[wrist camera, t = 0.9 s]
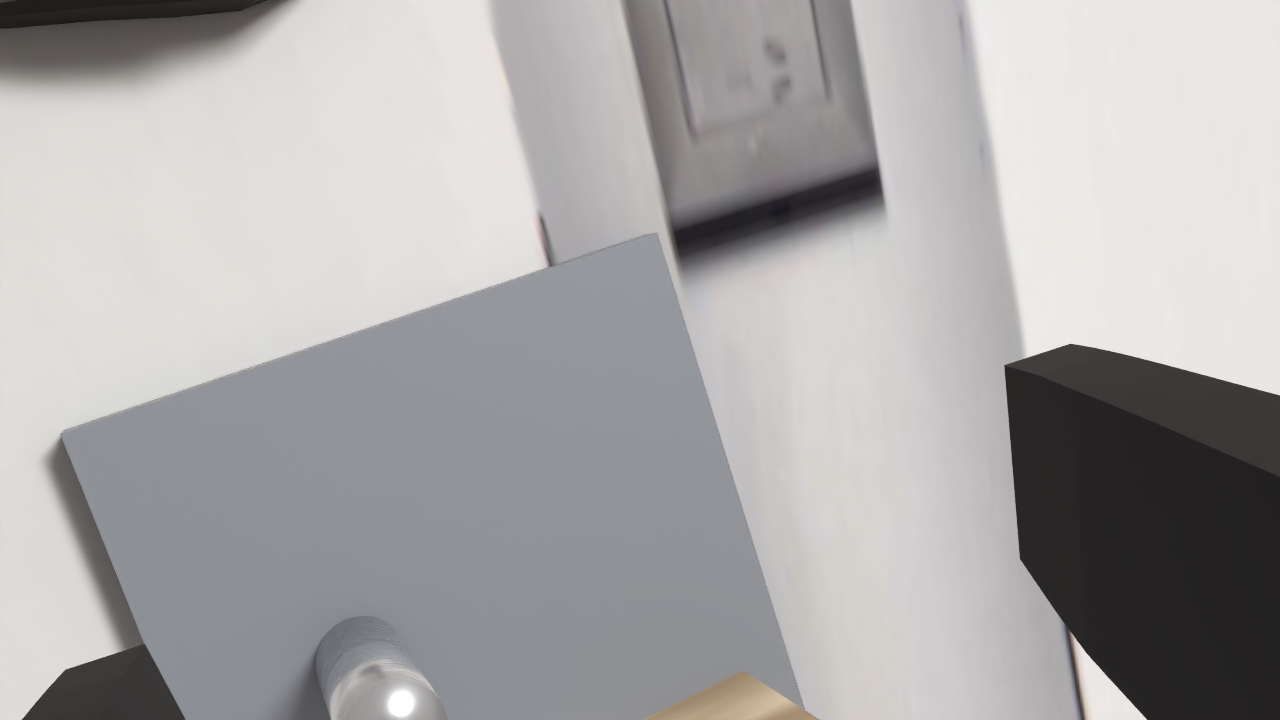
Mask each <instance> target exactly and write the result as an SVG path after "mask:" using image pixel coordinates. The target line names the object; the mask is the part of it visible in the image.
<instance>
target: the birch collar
mask: <svg viewBox="0 0 1280 720" xmlns="http://www.w3.org/2000/svg"><path fill="white" fill-rule="evenodd" d="M643 720H819V719H818V718H816V717H815V716H813V715H812V714H810V713H808V712H807V711H805V710H804V709H802V708H801V707H799V706H798V705H796V704H795V703H793V702H791V701H790V700H788V699H787V698H785V697H784V696H782V695H781V694H779V693H778V692H776V691H774V690H773V689H771V688H770V687H768V686H767V685H765V684H764V683H762V682H761V681H759V680H757V679H756V678H754V677H753V676H751V675H750V674H748V673H747V672H745V671H744V670H743V671H741V672H739V673H737V674H735V675H733V676H731V677H729V678H727V679H725V680H723V681H721V682H719V683H717V684H714V685H712V686H710V687H708V688H706V689H704V690H702V691H700V692H698V693H696V694H694V695H692V696H690V697H688V698H686V699H684V700H682V701H680V702H678V703H676V704H674V705H672V706H669V707H667V708H665V709H663V710H661V711H659V712H657V713H655V714H653V715H651V716H649V717H647V718H645V719H643Z"/></svg>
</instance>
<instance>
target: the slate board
mask: <svg viewBox="0 0 1280 720" xmlns="http://www.w3.org/2000/svg"><path fill="white" fill-rule="evenodd" d="M60 435H61V437H62V440H63V442H64V445H65V447H66V450H67V452H68V455H69V457H70V460H71V462H72V465H73V467H74V470H75V472H76V475H77V477H78V480H79V482H80V485H81V487H82V490H83V492H84V495H85V497H86V500H87V502H88V505H89V507H90V510H91V512H92V515H93V517H94V520H95V522H96V525H97V527H98V530H99V532H100V535H101V537H102V540H103V542H104V545H105V547H106V550H107V552H108V555H109V557H110V560H111V562H112V565H113V567H114V570H115V572H116V575H117V577H118V580H119V582H120V585H121V587H122V590H123V592H124V595H125V597H126V600H127V602H128V605H129V607H130V610H131V612H132V615H133V617H134V620H135V622H136V625H137V627H138V630H139V632H140V635H141V637H142V640H143V642H144V644H145V645H146V647H147V648H148V650H149V652H150V654H151V656H152V658H153V660H154V661H155V663H156V665H157V667H158V669H159V671H160V673H161V674H162V676H163V678H164V680H165V682H166V684H167V686H168V688H169V689H170V691H171V693H172V695H173V697H174V699H175V701H176V702H177V704H178V706H179V708H180V710H181V712H182V714H183V716H184V717H185V719H186V720H331V718H330V715H329V712H328V709H327V706H326V703H325V700H324V697H323V694H322V692H321V689H320V686H319V683H318V680H317V676H316V673H315V655H316V651H317V648H318V646H319V644H320V642H321V640H322V639H323V637H324V636H325V635H326V633H327V632H328V631H329V630H330V629H331V628H333V627H334V626H335V625H337V624H338V623H340V622H342V621H344V620H346V619H349V618H352V617H357V616H371V617H375V618H379V619H381V620H383V621H385V622H387V623H388V624H390V625H391V626H392V627H393V628H394V629H395V630H396V631H397V633H398V634H399V636H400V638H401V639H402V641H403V642H404V644H405V645H406V647H407V649H408V650H409V652H410V653H411V655H412V656H413V658H414V660H415V661H416V663H417V664H418V666H419V667H420V669H421V671H422V672H423V674H424V675H425V677H426V678H427V680H428V682H429V683H430V685H431V686H432V688H433V689H434V691H435V693H436V694H437V696H438V697H439V699H440V700H441V702H442V704H443V705H444V708H445V710H446V713H447V717H448V720H643V719H645V718H647V717H649V716H651V715H653V714H655V713H657V712H659V711H661V710H663V709H665V708H667V707H669V706H672V705H674V704H676V703H678V702H680V701H682V700H684V699H686V698H688V697H690V696H692V695H694V694H696V693H698V692H700V691H702V690H704V689H706V688H708V687H710V686H712V685H714V684H717V683H719V682H721V681H723V680H725V679H727V678H729V677H731V676H733V675H735V674H737V673H739V672H741V671H743V670H744V671H745V672H747V673H748V674H750V675H751V676H753V677H754V678H756V679H757V680H759V681H761V682H762V683H764V684H765V685H767V686H768V687H770V688H771V689H773V690H774V691H776V692H778V693H779V694H781V695H782V696H784V697H785V698H787V699H788V700H790V701H791V702H793V703H795V704H796V705H798V706H799V707H801V708H802V709H804V705H803V702H802V699H801V696H800V692H799V689H798V686H797V683H796V680H795V676H794V673H793V670H792V667H791V663H790V660H789V657H788V654H787V650H786V647H785V644H784V641H783V638H782V634H781V631H780V628H779V625H778V621H777V618H776V615H775V612H774V608H773V605H772V602H771V599H770V596H769V592H768V589H767V586H766V583H765V579H764V576H763V573H762V570H761V566H760V563H759V560H758V557H757V554H756V550H755V547H754V544H753V541H752V537H751V534H750V531H749V528H748V525H747V521H746V518H745V515H744V512H743V508H742V505H741V502H740V499H739V495H738V492H737V489H736V486H735V483H734V479H733V476H732V473H731V470H730V466H729V463H728V460H727V457H726V453H725V450H724V447H723V444H722V441H721V437H720V434H719V431H718V428H717V424H716V421H715V418H714V415H713V411H712V408H711V405H710V402H709V399H708V395H707V392H706V389H705V386H704V382H703V379H702V376H701V373H700V369H699V366H698V363H697V360H696V357H695V353H694V350H693V347H692V344H691V340H690V337H689V334H688V331H687V327H686V324H685V321H684V318H683V315H682V311H681V308H680V305H679V302H678V298H677V295H676V292H675V289H674V286H673V282H672V279H671V276H670V273H669V269H668V266H667V263H666V260H665V256H664V253H663V250H662V247H661V244H660V240H659V237H658V234H657V233H653V234H647V235H643V236H640V237H637V238H634V239H631V240H629V241H626V242H623V243H620V244H617V245H614V246H611V247H608V248H605V249H602V250H599V251H596V252H593V253H590V254H587V255H584V256H581V257H578V258H575V259H572V260H569V261H566V262H563V263H560V264H557V265H554V266H551V267H548V268H545V269H542V270H539V271H536V272H533V273H530V274H527V275H524V276H522V277H519V278H516V279H513V280H510V281H507V282H504V283H501V284H498V285H495V286H492V287H489V288H486V289H483V290H480V291H477V292H474V293H471V294H468V295H465V296H462V297H459V298H456V299H453V300H450V301H447V302H444V303H441V304H438V305H435V306H432V307H429V308H426V309H423V310H420V311H417V312H414V313H412V314H409V315H406V316H403V317H400V318H397V319H394V320H391V321H388V322H385V323H382V324H379V325H376V326H373V327H370V328H367V329H364V330H361V331H358V332H355V333H352V334H349V335H346V336H343V337H340V338H337V339H334V340H331V341H328V342H325V343H322V344H319V345H316V346H313V347H310V348H307V349H305V350H302V351H299V352H296V353H293V354H290V355H287V356H284V357H281V358H278V359H275V360H272V361H269V362H266V363H263V364H260V365H257V366H254V367H251V368H248V369H245V370H242V371H239V372H236V373H233V374H230V375H227V376H224V377H221V378H218V379H215V380H212V381H209V382H206V383H203V384H200V385H197V386H195V387H192V388H189V389H186V390H183V391H180V392H177V393H174V394H171V395H168V396H165V397H162V398H159V399H156V400H153V401H150V402H147V403H144V404H141V405H138V406H135V407H132V408H129V409H126V410H123V411H120V412H117V413H114V414H111V415H108V416H105V417H102V418H99V419H96V420H93V421H90V422H88V423H85V424H82V425H79V426H76V427H73V428H70V429H67V430H64V431H63V432H62V433H61V434H60ZM804 710H805V709H804Z"/></svg>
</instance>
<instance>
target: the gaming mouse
mask: <svg viewBox="0 0 1280 720" xmlns="http://www.w3.org/2000/svg"><path fill="white" fill-rule="evenodd" d="M264 1H266V0H0V28H17V27H29V26H40V25H52V24H64V23H75V22H87V21H101V20H124V19H147V18H170V17H182V16H192V15H202V14H212V13H222V12H232V11H241V10H243V9H246V8H248V7H251V6H253V5H256V4H259V3H261V2H264Z"/></svg>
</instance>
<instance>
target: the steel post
mask: <svg viewBox="0 0 1280 720" xmlns="http://www.w3.org/2000/svg"><path fill="white" fill-rule="evenodd" d="M315 673H316V676H317V680H318V683H319V686H320V689H321V692H322V694H323V697H324V700H325V703H326V706H327V709H328V712H329V715H330V718H331V720H448V717H447V713H446V710H445V708H444V705H443V704H442V702H441V700H440V699H439V697H438V696H437V694H436V693H435V691H434V689H433V688H432V686H431V685H430V683H429V682H428V680H427V678H426V677H425V675H424V674H423V672H422V671H421V669H420V667H419V666H418V664H417V663H416V661H415V660H414V658H413V656H412V655H411V653H410V652H409V650H408V649H407V647H406V645H405V644H404V642H403V641H402V639H401V638H400V636H399V634H398V633H397V631H396V630H395V629H394V628H393V627H392V626H391V625H390V624H388V623H387V622H385V621H383V620H381V619H379V618H375V617H371V616H357V617H352V618H349V619H346V620H344V621H342V622H340V623H338V624H337V625H335V626H334V627H333V628H331V629H330V630H329V631H328V632H327V633H326V635H325V636H324V637H323V639H322V640H321V642H320V644H319V646H318V648H317V651H316V655H315Z"/></svg>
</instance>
